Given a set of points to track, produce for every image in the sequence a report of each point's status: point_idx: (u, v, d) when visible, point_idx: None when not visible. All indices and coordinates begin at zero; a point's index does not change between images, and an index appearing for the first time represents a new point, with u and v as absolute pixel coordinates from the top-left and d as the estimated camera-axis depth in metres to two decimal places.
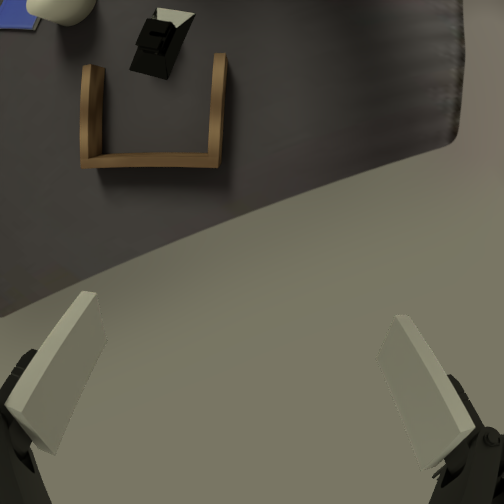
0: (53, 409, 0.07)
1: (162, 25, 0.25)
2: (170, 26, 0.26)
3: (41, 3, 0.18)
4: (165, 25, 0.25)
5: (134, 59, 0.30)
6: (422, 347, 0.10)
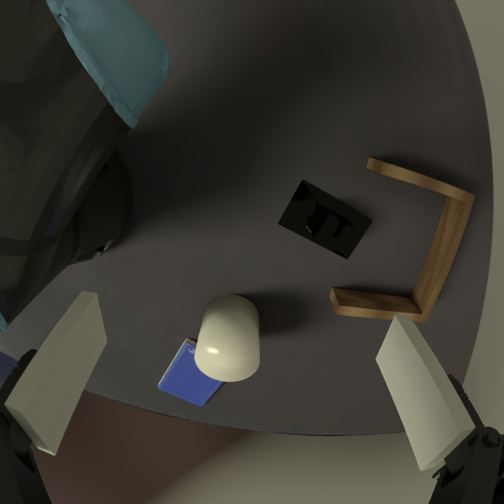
0: (53, 409, 0.07)
1: (330, 221, 0.29)
2: (328, 212, 0.29)
3: (241, 365, 0.31)
4: (332, 218, 0.28)
5: (338, 252, 0.34)
6: (422, 347, 0.10)
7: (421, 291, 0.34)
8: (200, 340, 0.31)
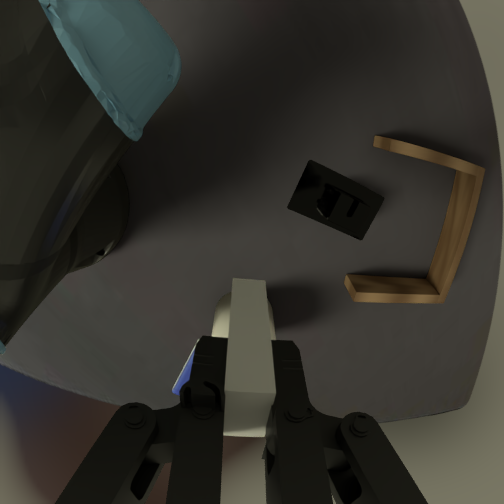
0: None
1: (343, 201, 0.27)
2: (339, 191, 0.27)
3: None
4: (344, 197, 0.26)
5: (352, 234, 0.32)
6: (259, 308, 0.12)
7: (437, 271, 0.33)
8: None
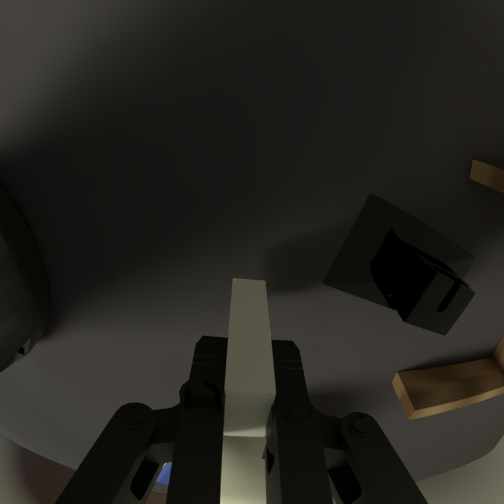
0: None
1: (438, 286, 0.12)
2: (428, 263, 0.13)
3: None
4: (441, 280, 0.12)
5: None
6: (259, 308, 0.12)
7: None
8: None
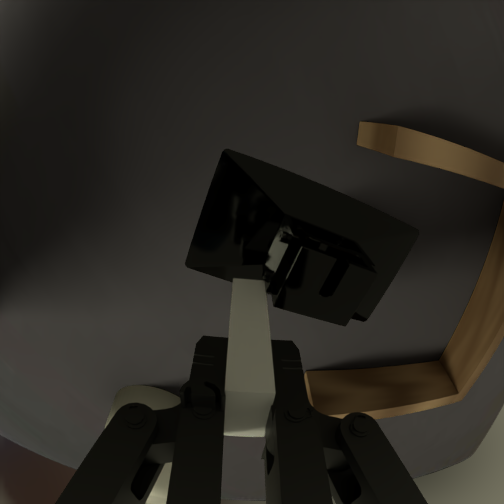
0: None
1: (311, 264, 0.11)
2: (303, 237, 0.12)
3: (161, 497, 0.15)
4: (313, 256, 0.11)
5: None
6: (258, 308, 0.12)
7: (459, 355, 0.18)
8: None
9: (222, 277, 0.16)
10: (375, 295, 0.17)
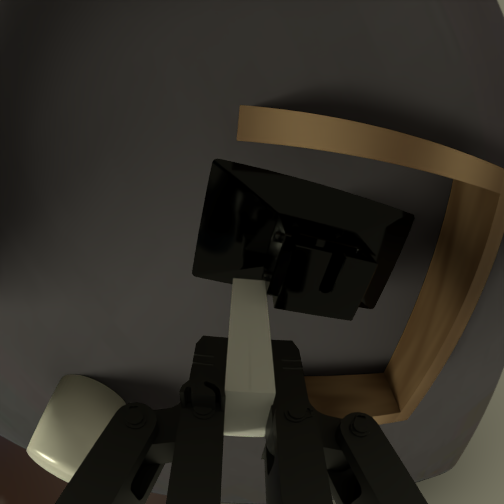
0: None
1: (306, 262, 0.11)
2: (297, 234, 0.12)
3: None
4: (307, 253, 0.11)
5: None
6: (258, 308, 0.12)
7: (402, 370, 0.17)
8: (29, 443, 0.14)
9: None
10: (384, 285, 0.17)
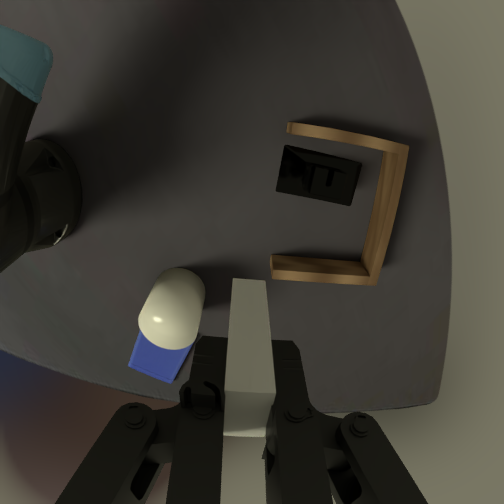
0: None
1: (319, 173, 0.30)
2: (315, 165, 0.30)
3: (182, 332, 0.33)
4: (320, 170, 0.29)
5: (340, 202, 0.35)
6: (259, 308, 0.12)
7: (368, 253, 0.36)
8: None
9: None
10: None
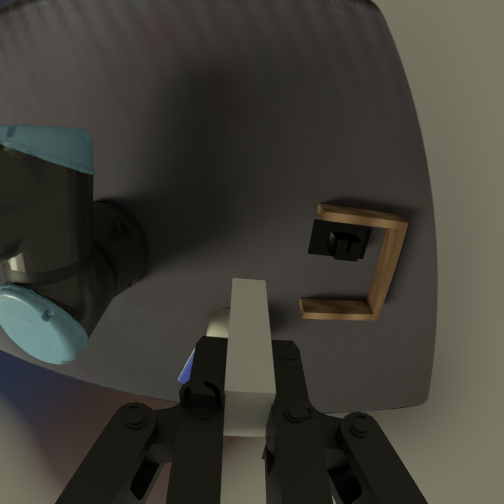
0: None
1: (342, 245, 0.41)
2: (338, 237, 0.42)
3: None
4: (342, 242, 0.41)
5: None
6: (259, 308, 0.12)
7: (372, 296, 0.47)
8: None
9: None
10: None
